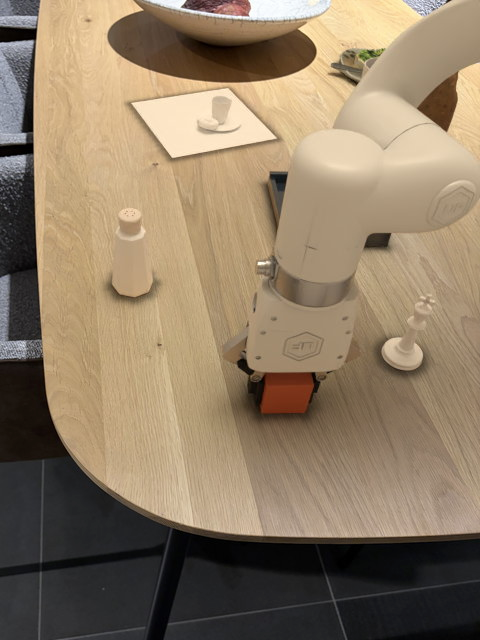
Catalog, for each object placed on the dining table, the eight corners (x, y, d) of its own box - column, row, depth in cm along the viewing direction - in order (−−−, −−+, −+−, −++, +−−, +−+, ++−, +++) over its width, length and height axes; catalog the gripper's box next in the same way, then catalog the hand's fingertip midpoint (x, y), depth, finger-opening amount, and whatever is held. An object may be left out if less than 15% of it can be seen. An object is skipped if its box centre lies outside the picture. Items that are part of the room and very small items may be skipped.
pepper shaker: (150, 269, 82) (149, 199, 73) (155, 296, 78) (155, 226, 70) (110, 271, 81) (105, 201, 72) (113, 299, 77) (108, 228, 69)
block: (366, 168, 101) (403, 42, 86) (368, 146, 106) (403, 22, 91) (431, 179, 100) (481, 53, 85) (430, 156, 105) (477, 33, 90)
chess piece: (387, 335, 76) (412, 274, 68) (425, 349, 75) (456, 289, 67) (376, 361, 73) (402, 300, 65) (416, 376, 72) (447, 316, 64)
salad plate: (334, 92, 119) (340, 68, 115) (321, 53, 130) (326, 30, 127) (430, 96, 120) (439, 73, 116) (409, 58, 131) (416, 35, 128)
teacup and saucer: (204, 137, 105) (205, 114, 102) (186, 116, 109) (187, 93, 106) (248, 129, 107) (251, 107, 104) (229, 108, 112) (231, 86, 109)
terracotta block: (298, 378, 71) (306, 350, 67) (305, 413, 67) (314, 385, 64) (255, 379, 70) (261, 350, 66) (261, 413, 67) (267, 385, 63)
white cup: (390, 130, 110) (408, 74, 102) (355, 130, 109) (370, 74, 102) (380, 112, 114) (396, 57, 107) (346, 112, 114) (360, 57, 106)
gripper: (222, 300, 52) (208, 422, 66) (414, 300, 53) (360, 420, 67) (215, 245, 56) (203, 370, 70) (392, 246, 58) (346, 368, 72)
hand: (280, 393), depth 68 cm, fingers closed on terracotta block, 5 cm apart
